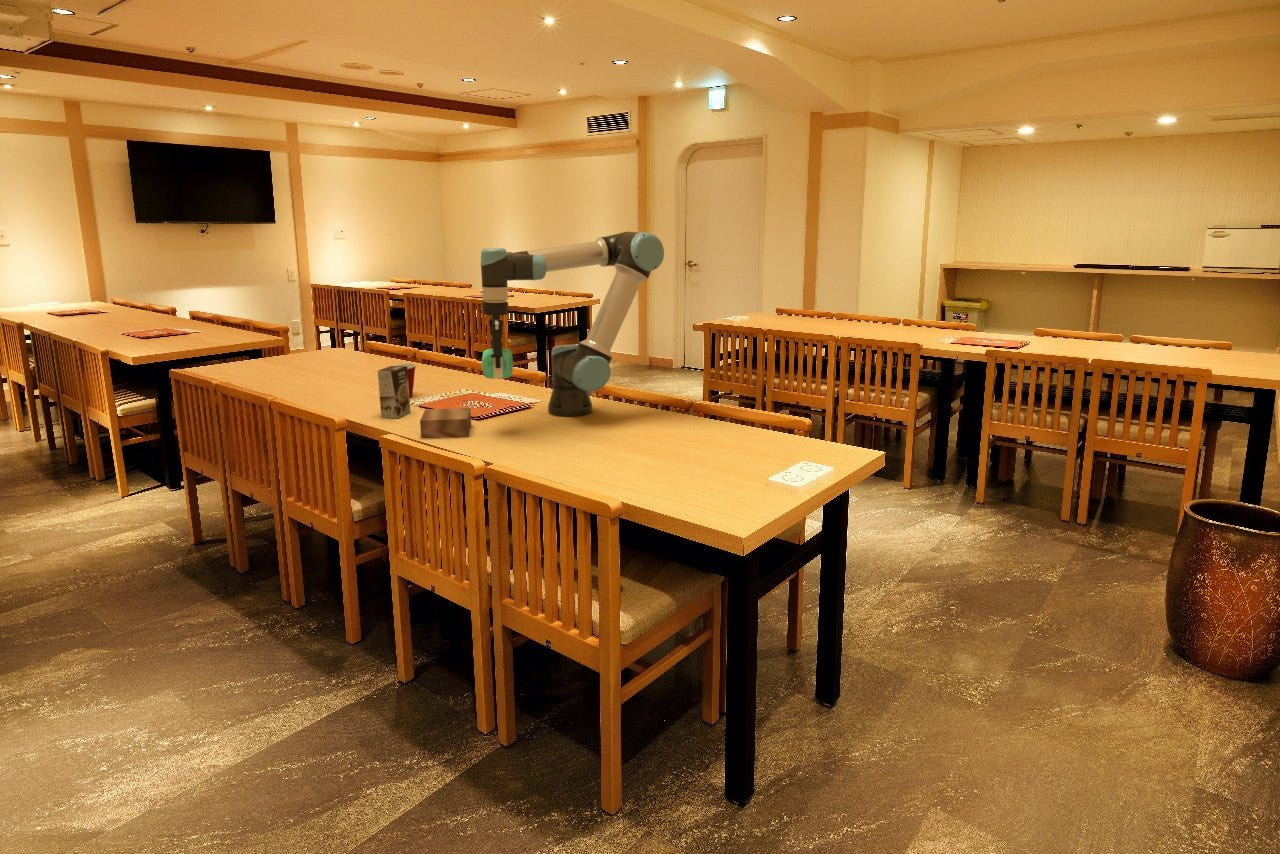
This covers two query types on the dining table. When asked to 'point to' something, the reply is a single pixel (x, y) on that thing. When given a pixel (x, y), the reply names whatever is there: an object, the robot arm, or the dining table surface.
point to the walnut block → (445, 423)
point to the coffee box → (394, 391)
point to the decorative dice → (488, 363)
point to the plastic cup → (409, 375)
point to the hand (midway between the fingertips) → (497, 375)
